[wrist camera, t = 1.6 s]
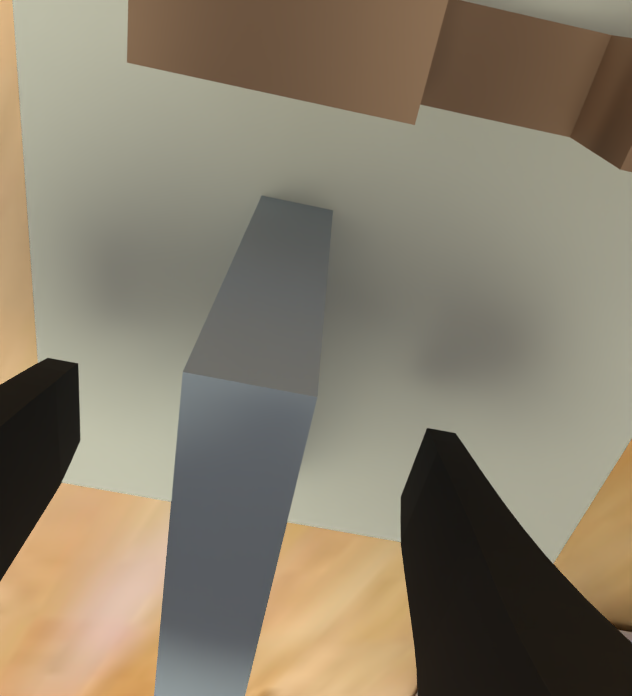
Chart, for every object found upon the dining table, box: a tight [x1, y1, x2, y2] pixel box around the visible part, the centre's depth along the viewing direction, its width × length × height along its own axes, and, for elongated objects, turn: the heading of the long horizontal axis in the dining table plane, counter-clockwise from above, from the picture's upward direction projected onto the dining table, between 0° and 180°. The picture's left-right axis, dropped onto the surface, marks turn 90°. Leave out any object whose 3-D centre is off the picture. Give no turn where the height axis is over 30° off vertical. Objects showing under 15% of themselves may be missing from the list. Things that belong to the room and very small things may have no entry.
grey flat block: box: [154, 196, 333, 696], centre depth 12 cm, size 2×8×7 cm, turn 169°
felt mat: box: [12, 0, 632, 563], centre depth 13 cm, size 16×19×1 cm
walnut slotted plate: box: [127, 0, 632, 172], centre depth 9 cm, size 11×2×4 cm, turn 79°
